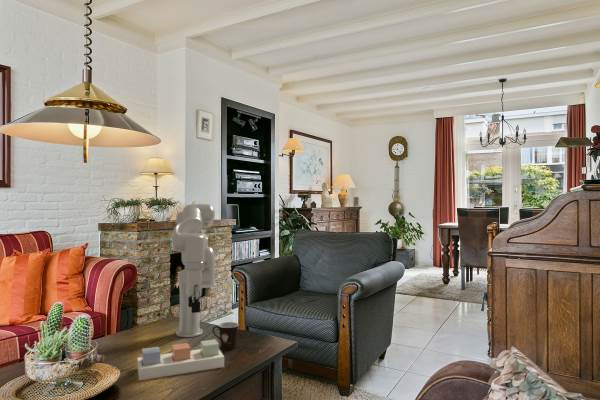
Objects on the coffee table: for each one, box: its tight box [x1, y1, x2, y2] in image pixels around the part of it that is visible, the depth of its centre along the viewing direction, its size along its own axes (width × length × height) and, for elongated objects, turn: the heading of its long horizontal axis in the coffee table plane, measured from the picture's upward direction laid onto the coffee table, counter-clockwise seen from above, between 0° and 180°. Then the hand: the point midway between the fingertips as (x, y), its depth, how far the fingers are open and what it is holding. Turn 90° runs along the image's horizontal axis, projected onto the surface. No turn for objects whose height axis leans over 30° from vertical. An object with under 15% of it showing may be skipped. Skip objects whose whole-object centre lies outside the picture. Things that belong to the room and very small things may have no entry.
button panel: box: [136, 348, 225, 381], centre depth 158 cm, size 12×31×4 cm, turn 115°
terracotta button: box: [171, 342, 192, 361], centre depth 158 cm, size 6×6×5 cm
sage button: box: [200, 339, 220, 357], centre depth 163 cm, size 6×6×5 cm
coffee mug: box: [212, 321, 239, 351], centre depth 182 cm, size 12×9×10 cm
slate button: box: [141, 346, 161, 366], centre depth 154 cm, size 6×6×5 cm
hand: (194, 309), depth 161 cm, fingers open, 9 cm apart
